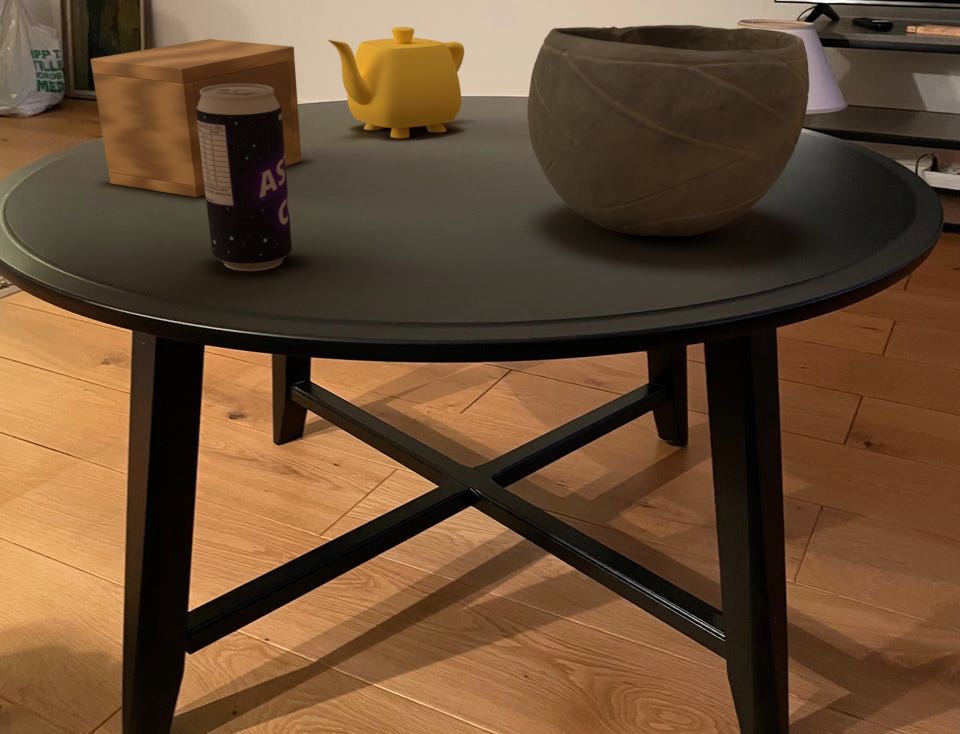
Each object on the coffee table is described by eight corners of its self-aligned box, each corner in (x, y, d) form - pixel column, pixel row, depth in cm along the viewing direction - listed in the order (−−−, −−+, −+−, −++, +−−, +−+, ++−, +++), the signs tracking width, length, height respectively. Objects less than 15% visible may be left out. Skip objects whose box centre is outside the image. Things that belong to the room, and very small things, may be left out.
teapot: (361, 149, 108) (357, 39, 102) (306, 131, 115) (299, 28, 110) (492, 128, 118) (494, 27, 113) (433, 113, 125) (432, 18, 120)
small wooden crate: (110, 183, 94) (90, 58, 88) (221, 149, 106) (209, 38, 101) (197, 197, 90) (181, 68, 85) (301, 161, 103) (294, 46, 97)
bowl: (835, 232, 84) (872, 35, 77) (670, 287, 71) (696, 58, 64) (638, 182, 97) (654, 10, 90) (472, 221, 85) (474, 25, 78)
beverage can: (274, 278, 72) (258, 99, 66) (199, 270, 73) (178, 93, 67) (304, 254, 77) (293, 85, 71) (234, 247, 78) (217, 80, 72)
